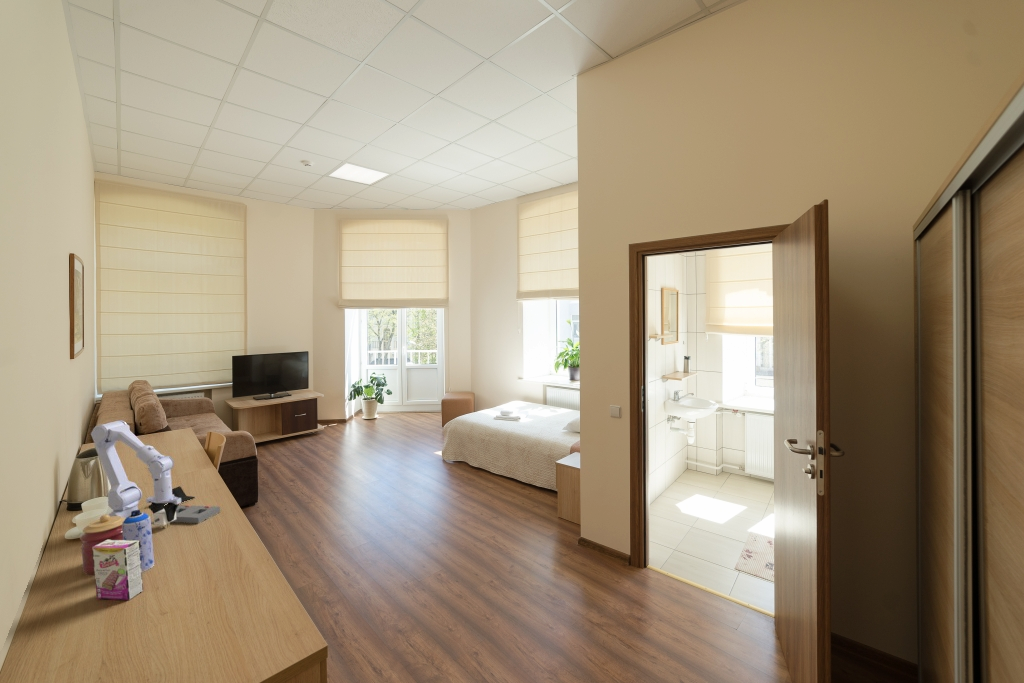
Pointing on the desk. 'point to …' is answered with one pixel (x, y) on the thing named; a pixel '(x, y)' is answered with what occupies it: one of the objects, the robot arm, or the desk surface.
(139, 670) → the desk surface
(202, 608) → the desk surface
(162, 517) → the plug
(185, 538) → the desk surface
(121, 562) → the candy bar box
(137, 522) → the aerosol can
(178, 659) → the desk surface
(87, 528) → the canister
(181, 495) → the black angular piece
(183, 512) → the socket
